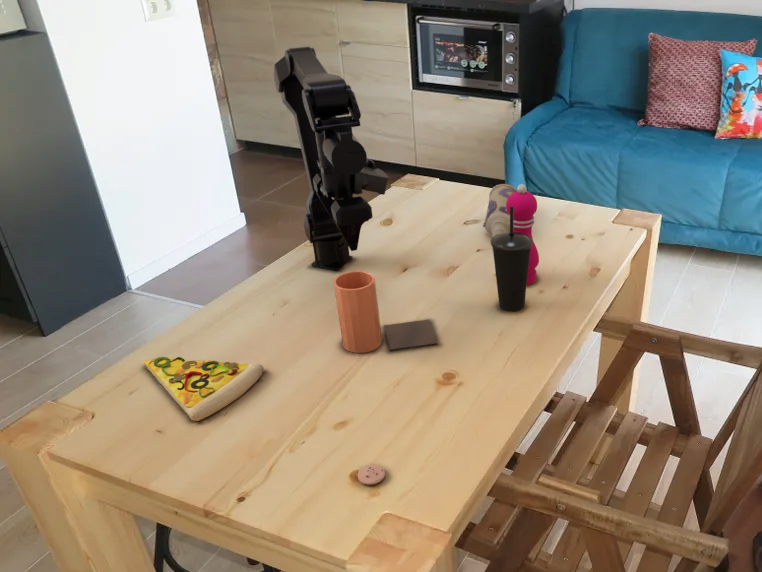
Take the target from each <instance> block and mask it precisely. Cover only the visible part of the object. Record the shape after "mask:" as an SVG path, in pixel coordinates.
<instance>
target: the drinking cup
mask: <svg viewBox="0 0 762 572" xmlns="http://www.w3.org/2000/svg"><path fill="white" fill-rule="evenodd" d="M491 237H492V236H491ZM532 238H533V237H532ZM532 238H531V237H530V236H528V235H526V234H523V233H519V232H514V207H510V232H504V233H500V234H497V235H495V236H494V237H492V238H490V245H491V247H492V254H493V261H494V263H493V264H494V272H495V278H496V279H495V281H496V288H497V297H498V306H499V308H500V309H501V310H502V311H504V312H507V313H516V312H520V311H522V310H523V309H524V307H525V304H526V303H525V302H526V295H527V294H526V293H527V286H528V285H527V276H528V267H529V258H530V249H531V246H532V244H533V241H534V239H533V240H532Z"/></svg>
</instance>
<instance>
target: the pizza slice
mask: <svg viewBox="0 0 762 572" xmlns="http://www.w3.org/2000/svg"><path fill="white" fill-rule="evenodd" d="M143 364H144V365H145V366H146V368H147V370H148V371H149V372H151V374H152V375H153V376H154V377H155V378H156V380H157V382H159V384H160V385H162V386H163V388H164V389H165V390H166V392H167V393H168V394H169V396H171V398H172V399H173V400H174V401H175V402H176V403H177V404H178V405H179V406H180V408H181V409H182V410H183V411H184V412H185V413H186V414H187V416H188V417H189V418H190V420H192V421H194V422H198V421H199V422H200V421H201V420H203V419H205V418H207V417H210V416H212V415H213V414H215V413H218V411H220V410H221V409H224V408H225V407H226V406H228V405H229V404H231V403H233V402H235V400H237V399H238V398H239V397H242V395H244V394H245V393H246V392H247V391H248V390H249V389H250V388H251V387H252V386H253V385H254V384H255V383H256V382H257V381H258V380H259V379H260V378H261V376H262V375H263V372H264V370H265V369H264V366H263V364H261V363H258V362H254V363H239V362H236V361H235V362H230V361H225V362H224V361H217V360H201V359H199V360H192V359H191V360H190V359H189V360H188V359H184V358H183V357H181V356H177V357H176V358H172V357H166V356H159V357H157V358H153V359H149V360H148V359H147V360H143Z"/></svg>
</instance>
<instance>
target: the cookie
mask: <svg viewBox="0 0 762 572" xmlns="http://www.w3.org/2000/svg"><path fill="white" fill-rule="evenodd" d="M385 476H386V470H385V468H384V467H383V466H382V465H379V464H374V463H373V464H367V465H365V466H363V467H362V468H360V469H359V471H358V472H357V479H358V481H359V482H360V483H361V484H363V485H367V486H371V485H377V484H378V483H380V482H381V481H383V480H384V478H385Z"/></svg>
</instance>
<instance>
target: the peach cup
mask: <svg viewBox="0 0 762 572" xmlns="http://www.w3.org/2000/svg"><path fill="white" fill-rule="evenodd" d="M333 289H334V297H335V302H336V310H337V314H338V315H337V316H338V322H339V328H340V335H341V339H342V340H341V342H342V345H343V348H344V349H345V351H348V352H351V353H356V354H365V353H369V352H372V351H375V350H377V349H378V348H379V347H380V346H381V345H382V343H383V339H382V338H383V337H382V335H383V334H382V328H381V320H380V310H379V303H378V294H377V293H378V292H377V286H376V278H375V276H374V275H373V274H372V273H370V272H368V271H363V270H351V271H346V272H343V273H341V274H339V275H337V276H336V277H335V278H334V279H333Z"/></svg>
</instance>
